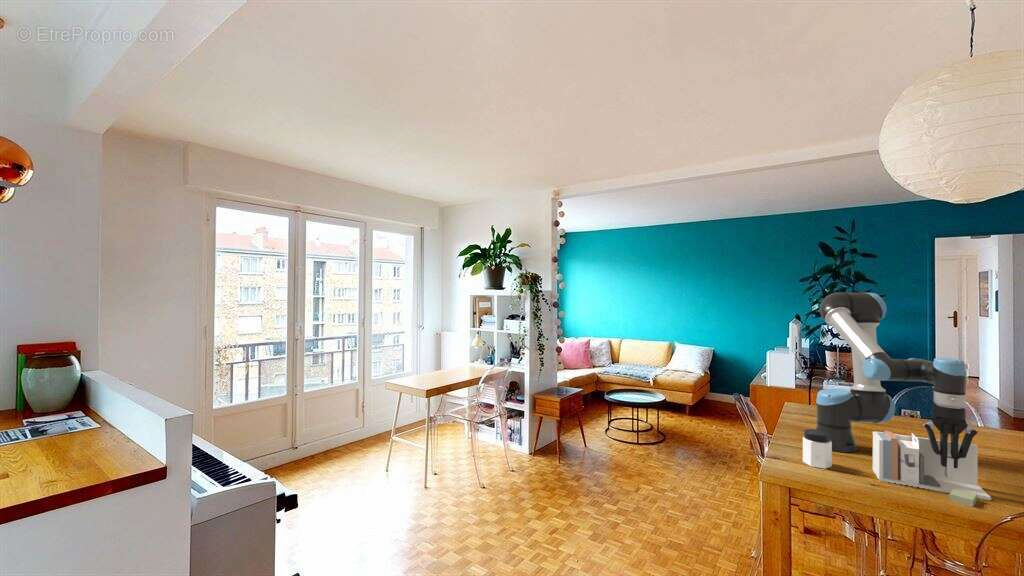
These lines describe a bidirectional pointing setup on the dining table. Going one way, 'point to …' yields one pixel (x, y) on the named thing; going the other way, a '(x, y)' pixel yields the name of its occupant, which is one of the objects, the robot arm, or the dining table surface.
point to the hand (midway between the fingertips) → (949, 476)
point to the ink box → (908, 460)
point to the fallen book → (963, 497)
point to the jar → (817, 448)
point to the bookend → (925, 478)
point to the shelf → (926, 464)
